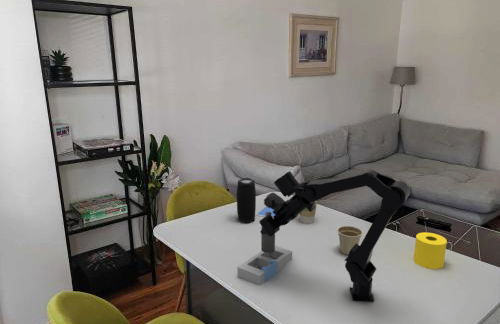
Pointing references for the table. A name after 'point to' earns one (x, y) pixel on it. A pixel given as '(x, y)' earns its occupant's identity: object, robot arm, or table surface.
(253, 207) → the portable speaker
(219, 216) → the table surface
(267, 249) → the plug
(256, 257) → the cinder block
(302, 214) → the coffee cup
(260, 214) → the blue flat slab
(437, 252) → the yellow toilet paper roll
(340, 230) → the flower pot
